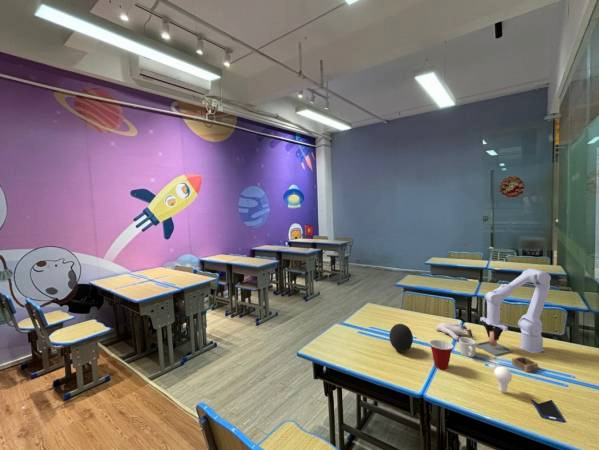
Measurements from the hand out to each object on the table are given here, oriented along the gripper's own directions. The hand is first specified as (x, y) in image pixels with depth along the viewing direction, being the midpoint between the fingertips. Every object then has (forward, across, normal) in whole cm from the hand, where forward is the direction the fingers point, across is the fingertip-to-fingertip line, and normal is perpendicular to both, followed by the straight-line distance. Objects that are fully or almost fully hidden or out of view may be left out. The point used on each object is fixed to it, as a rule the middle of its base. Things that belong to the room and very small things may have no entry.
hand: (493, 338), depth 153 cm
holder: (+6, +18, -2) cm, 19 cm away
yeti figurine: (+7, -22, -5) cm, 24 cm away
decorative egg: (+7, -16, -47) cm, 50 cm away
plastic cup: (+7, +4, -38) cm, 39 cm away
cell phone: (+7, +40, -21) cm, 46 cm away
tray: (+6, 0, 0) cm, 6 cm away
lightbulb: (+7, +28, -28) cm, 40 cm away
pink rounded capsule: (+4, 0, 0) cm, 4 cm away
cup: (+7, +1, -18) cm, 19 cm away
